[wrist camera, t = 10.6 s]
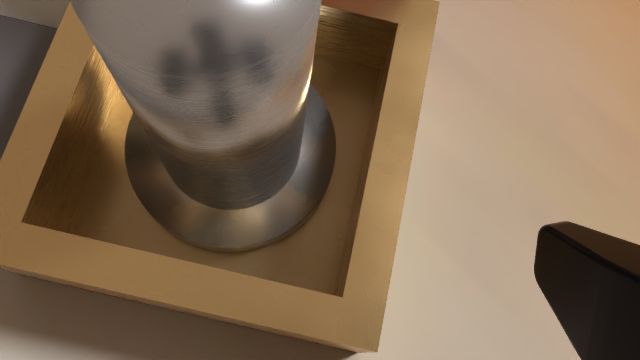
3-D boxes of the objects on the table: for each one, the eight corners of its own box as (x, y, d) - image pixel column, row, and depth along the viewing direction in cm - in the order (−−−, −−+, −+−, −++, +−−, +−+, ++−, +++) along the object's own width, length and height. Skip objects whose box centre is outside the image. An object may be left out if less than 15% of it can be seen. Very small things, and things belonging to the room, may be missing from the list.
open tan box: (414, 54, 21) (439, 1, 18) (358, 352, 18) (377, 352, 15) (130, -14, 21) (104, -79, 18) (16, 273, 18) (-41, 255, 15)
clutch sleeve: (369, 129, 20) (456, -74, 10) (260, 293, 18) (248, 224, 8) (211, 32, 21) (158, -241, 11) (88, 179, 19) (-104, -3, 9)
